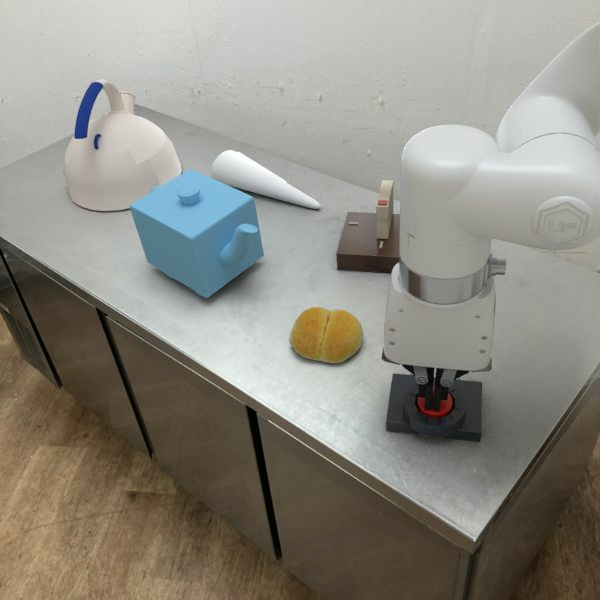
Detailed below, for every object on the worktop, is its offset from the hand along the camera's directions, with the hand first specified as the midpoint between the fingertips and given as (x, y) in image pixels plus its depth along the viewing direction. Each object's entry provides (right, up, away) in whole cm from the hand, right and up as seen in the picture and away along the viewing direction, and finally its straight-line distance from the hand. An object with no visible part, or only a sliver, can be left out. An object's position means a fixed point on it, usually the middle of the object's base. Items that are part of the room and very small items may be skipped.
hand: (432, 399), depth 69 cm
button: (0, -1, +1) cm, 2 cm away
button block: (+1, -2, +4) cm, 4 cm away
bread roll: (-11, +5, +13) cm, 18 cm away
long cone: (-20, +27, +39) cm, 51 cm away
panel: (-2, +19, +26) cm, 32 cm away
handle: (-2, +21, +25) cm, 33 cm away
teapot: (-26, +14, +25) cm, 39 cm away
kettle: (-45, +32, +47) cm, 73 cm away
